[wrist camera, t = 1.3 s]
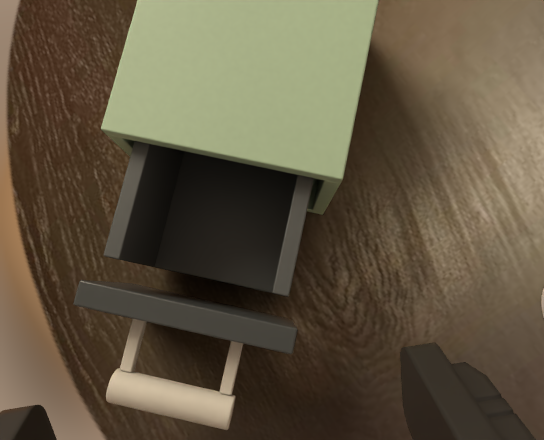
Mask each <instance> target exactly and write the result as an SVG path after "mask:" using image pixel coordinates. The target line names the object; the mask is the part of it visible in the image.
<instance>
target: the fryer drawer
mask: <svg viewBox="0 0 544 440" xmlns="http://www.w3.org/2000/svg"><path fill="white" fill-rule="evenodd" d="M313 179H314V178H311V177H306V176H302V175H297V174H292V173H287V172H282V171H278V170H273V169H268V168H263V167H258V166H254V165H249V164H244V163H239V162H234V161H230V160H225V159H220V158H215V157H211V156H206V155H201V154H196V153H191V152H187V151H182V150H177V149H172V148H167V147H163V146H158V145H153V144H148V143H143V142H139V141H135V142H134V146H133V149H132V153H131V157H130V160H129V164H128V168H127V171H126V175H125V178H124V182H123V186H122V189H121V193H120V197H119V200H118V204H117V208H116V211H115V215H114V219H113V222H112V226H111V230H110V233H109V237H108V241H107V244H106V248H105V252H104V256H106V257H110V258H115V259H119V260H124V261H128V262H133V263H138V264H142V265H147V266H152V267H156V268H161V269H165V270H170V271H174V272H179V273H183V274H188V275H192V276H197V277H201V278H206V279H211V280H215V281H220V282H224V283H229V284H233V285H238V286H242V287H247V288H251V289H256V290H260V291H265V292H269V293H273V294H278V295H282V296H287V297H288V296H289V294H290V289H291V284H292V280H293V275H294V270H295V265H296V261H297V256H298V251H299V246H300V241H301V237H302V232H303V227H304V222H305V218H306V213H307V208H308V203H309V199H310V194H311V189H312V184H313ZM74 305H75V306H79V307H83V308H88V309H92V310H97V311H101V312H105V313H110V314H114V315H119V316H123V317H128V318H132V319H133V320H132V324H131V328H130V331H129V335H128V339H127V343H126V347H125V351H124V355H123V359H122V362H121V366H120V369H117V370H116V371H115V372H114V373H113V375H112V377H111V379H110V382H109V385H108V388H107V393H106V400H107V402H109V403H114V404H118V405H122V406H126V407H131V408H135V409H139V410H143V411H148V412H152V413H156V414H160V415H165V416H169V417H173V418H177V419H182V420H186V421H190V422H194V423H199V424H203V425H207V426H211V427H216V428H220V429H224V430H228V428H229V425H230V421H231V417H232V413H233V409H234V404H235V398H236V396H235V395H232V392H233V388H234V383H235V379H236V374H237V370H238V365H239V361H240V356H241V352H242V347H243V344H247V345H251V346H256V347H260V348H264V349H269V350H273V351H278V352H282V353H286V354H293V350H294V346H295V341H296V336H297V331H298V330H297V328H296V326H295V324H294V322H293V320H292V319H289V318H284V317H280V316H275V315H271V314H266V313H262V312H257V311H253V310H248V309H244V308H239V307H235V306H230V305H226V304H221V303H217V302H212V301H208V300H203V299H199V298H194V297H190V296H185V295H181V294H176V293H172V292H167V291H163V290H159V289H154V288H150V287H145V286H141V285H136V284H130V283H116V282H102V281H87V280H80V282H79V286H78V289H77V293H76V296H75V300H74ZM147 322H150V323H154V324H158V325H163V326H167V327H172V328H176V329H180V330H185V331H189V332H194V333H198V334H203V335H207V336H211V337H216V338H220V339H225V340H229V341H231V343H230V347H229V352H228V356H227V361H226V365H225V369H224V374H223V378H222V383H221V387H220V392H219V391H214V390H210V389H206V388H202V387H197V386H193V385H189V384H184V383H180V382H176V381H171V380H167V379H163V378H158V377H154V376H150V375H145V374H141V373H137V372H132V371H134V370H135V366H136V362H137V358H138V354H139V350H140V346H141V342H142V338H143V335H144V331H145V327H146V323H147Z"/></svg>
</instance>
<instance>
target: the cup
mask: <svg viewBox="0 0 544 440" xmlns="http://www.w3.org/2000/svg"><path fill="white" fill-rule="evenodd" d="M541 306H542V313H543V317H544V289H543V292H542V299H541Z"/></svg>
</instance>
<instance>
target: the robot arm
mask: <svg viewBox="0 0 544 440" xmlns="http://www.w3.org/2000/svg"><path fill="white" fill-rule="evenodd" d="M400 361H401V379H402V398H403V408H404V414H405V418H406V422H407V425H408V428H409V431H410V433H411V435H412V438H413V440H536V439H535V438H534V437H533V435H532V434H531V433H530V431H529V430H528V429H527V428H526V426H525V425H524V424H523V422H522V421H521V420H520V419H519V417H518V416H517V415H516V414H514V413H513V409H512V408H511V407H510V406H509V404H508V403H507V402H506V400H505V399H504V398H502V397H501V394H500V393H499V391H498V390H497V389H496V388H495V386H494V385H493V384H492V382H491V381H490V380H489V378H488V377H487V376H486V375H484V374H483V373H481V372H480V371H478V370H477V369H475V368H474V367H472V366H470V365H469V364H467V363H466V362H462V363H456V364H451V363H450V362H449V360H448V359H447V357H446V356H445V354H444V353H443V351H442V350H441V349H440V347H439V346H438V345H437V344H436V343H428V344H422V345H416V346H409V347H403V348H401V351H400ZM0 440H56V437H55V434H54V431H53V429H52V426H51V423H50V421H49V418H48V416H47V413H46V411H45V409H44V408H43V407H42V406H41V405H34V406H27V407H21V408H15V409H9V410H4V411H2V412H0Z"/></svg>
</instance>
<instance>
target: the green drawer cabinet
mask: <svg viewBox="0 0 544 440" xmlns="http://www.w3.org/2000/svg"><path fill="white" fill-rule="evenodd" d="M378 2H379V0H138V1H137V5H136V8H135V12H134V15H133V19H132V22H131V26H130V29H129V33H128V36H127V40H126V43H125V47H124V50H123V54H122V57H121V61H120V64H119V68H118V71H117V75H116V78H115V82H114V85H113V89H112V92H111V96H110V99H109V103H108V106H107V110H106V113H105V117H104V120H103V124H102V127H101V130H102V131H103V132H104V133H105V134H107V135H108V136H109V137H110V138H111V139H112V140H113V141H114V142H115V143H116V144H117V145H118V146H119V147H120V148H122V149H123V150H124V151H125V152H126V153H127V154H128V155H129V156H130V157H131V153H132V149H133V146H134V142H135V141H139V142H143V143H148V144H153V145H158V146H163V147H167V148H172V149H177V150H182V151H187V152H191V153H196V154H201V155H206V156H211V157H215V158H220V159H225V160H230V161H234V162H239V163H244V164H249V165H254V166H258V167H263V168H268V169H273V170H278V171H282V172H287V173H292V174H297V175H302V176H306V177H311V178H314V179H313V184H312V189H311V194H310V199H309V203H308V208H307V212H312V213H317V214H321V215H323V214H324V212H325V210H326V208H327V206H328V205H329V203H330V201H331V199H332V198H333V196H334V194H335V192H336V191H337V189H338V187H339V185H340V184H341V182H342V180H343V177H344V172H345V167H346V162H347V157H348V152H349V147H350V142H351V137H352V132H353V127H354V122H355V117H356V112H357V107H358V102H359V97H360V92H361V87H362V82H363V77H364V72H365V67H366V62H367V57H368V52H369V47H370V42H371V37H372V32H373V27H374V22H375V17H376V12H377V7H378Z"/></svg>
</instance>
